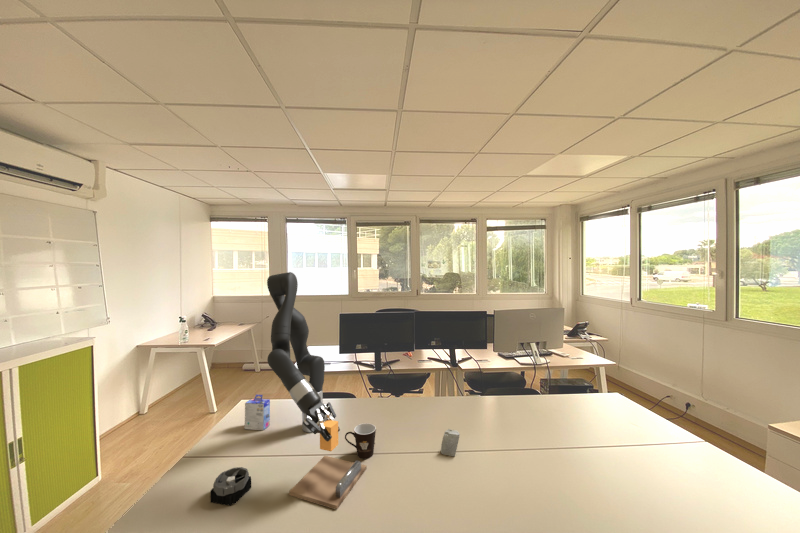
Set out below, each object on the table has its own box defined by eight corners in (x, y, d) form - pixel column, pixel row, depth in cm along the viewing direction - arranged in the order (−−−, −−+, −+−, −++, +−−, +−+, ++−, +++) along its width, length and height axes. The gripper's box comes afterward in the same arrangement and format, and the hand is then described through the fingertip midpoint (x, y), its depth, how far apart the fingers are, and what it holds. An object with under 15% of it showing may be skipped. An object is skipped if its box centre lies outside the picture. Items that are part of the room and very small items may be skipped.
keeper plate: (324, 458, 116) (324, 445, 116) (366, 468, 110) (366, 454, 110) (289, 495, 98) (289, 479, 98) (336, 509, 91) (336, 492, 91)
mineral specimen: (463, 455, 116) (459, 435, 116) (441, 458, 118) (437, 438, 118) (463, 444, 123) (459, 425, 123) (442, 446, 125) (438, 427, 125)
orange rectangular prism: (327, 441, 107) (327, 419, 107) (338, 444, 105) (338, 421, 105) (319, 448, 103) (319, 425, 103) (331, 451, 101) (330, 427, 101)
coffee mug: (380, 450, 121) (379, 425, 121) (369, 463, 113) (368, 436, 113) (355, 444, 126) (355, 420, 126) (343, 455, 118) (343, 429, 118)
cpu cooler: (230, 464, 105) (255, 468, 103) (230, 481, 105) (255, 485, 103) (205, 485, 95) (232, 490, 93) (205, 503, 95) (232, 508, 92)
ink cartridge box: (270, 424, 143) (270, 394, 143) (264, 430, 138) (263, 399, 138) (251, 423, 144) (251, 393, 145) (244, 429, 139) (243, 398, 139)
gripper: (297, 397, 100) (328, 440, 96) (322, 382, 114) (351, 419, 109) (284, 410, 102) (314, 453, 98) (311, 394, 115) (338, 431, 111)
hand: (333, 435), depth 103 cm, fingers closed on orange rectangular prism, 4 cm apart
